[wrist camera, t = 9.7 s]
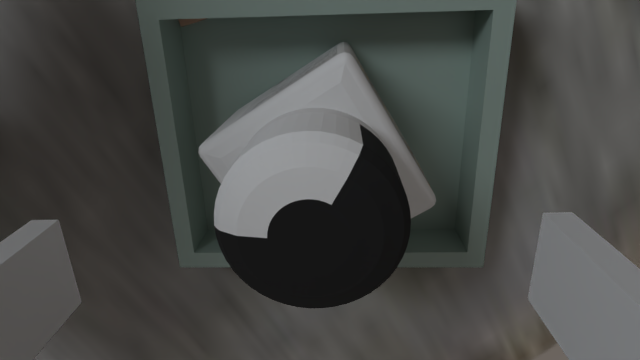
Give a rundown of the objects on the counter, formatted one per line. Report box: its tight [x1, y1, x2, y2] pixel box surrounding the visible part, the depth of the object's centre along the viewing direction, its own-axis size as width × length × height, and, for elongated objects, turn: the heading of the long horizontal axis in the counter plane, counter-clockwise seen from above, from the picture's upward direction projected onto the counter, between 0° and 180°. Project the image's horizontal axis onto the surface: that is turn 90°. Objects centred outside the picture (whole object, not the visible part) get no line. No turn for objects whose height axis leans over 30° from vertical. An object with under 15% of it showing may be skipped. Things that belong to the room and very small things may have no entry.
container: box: [198, 42, 436, 308], centre depth 20 cm, size 8×8×13 cm
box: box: [135, 0, 517, 267], centre depth 25 cm, size 18×15×4 cm
